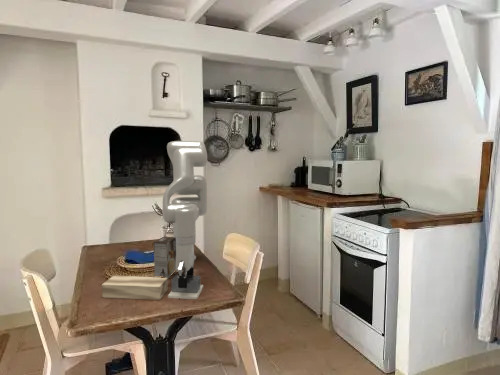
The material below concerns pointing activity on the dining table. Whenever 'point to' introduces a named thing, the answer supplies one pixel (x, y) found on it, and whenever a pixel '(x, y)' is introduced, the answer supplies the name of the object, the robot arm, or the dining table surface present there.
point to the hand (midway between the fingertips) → (186, 282)
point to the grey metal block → (192, 284)
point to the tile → (185, 294)
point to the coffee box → (165, 256)
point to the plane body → (135, 287)
